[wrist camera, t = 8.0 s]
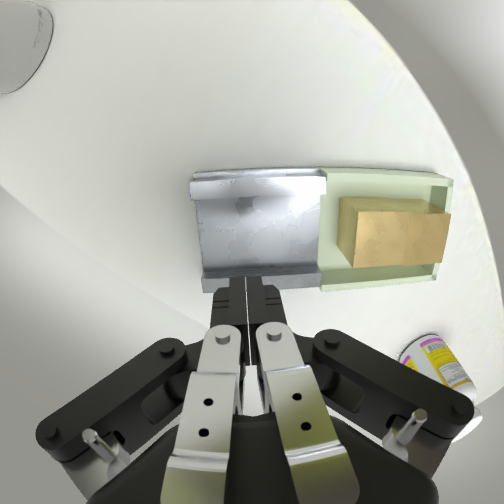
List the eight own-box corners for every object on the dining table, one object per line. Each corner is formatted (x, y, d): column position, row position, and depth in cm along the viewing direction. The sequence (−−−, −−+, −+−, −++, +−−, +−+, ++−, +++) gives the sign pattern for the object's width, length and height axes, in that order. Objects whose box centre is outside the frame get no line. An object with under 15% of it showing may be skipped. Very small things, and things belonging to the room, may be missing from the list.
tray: (313, 274, 24) (321, 292, 21) (317, 167, 20) (327, 173, 18) (420, 265, 24) (435, 280, 22) (434, 172, 20) (453, 179, 18)
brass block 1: (336, 245, 22) (352, 268, 19) (339, 196, 21) (358, 211, 17) (380, 243, 22) (401, 264, 19) (385, 196, 21) (410, 211, 17)
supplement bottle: (407, 377, 31) (443, 452, 20) (388, 358, 29) (429, 445, 17) (446, 346, 29) (491, 417, 18) (432, 323, 27) (488, 403, 16)
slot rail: (207, 280, 24) (203, 296, 22) (195, 172, 20) (188, 178, 18) (313, 274, 24) (320, 290, 22) (317, 167, 20) (326, 172, 18)
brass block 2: (380, 244, 22) (401, 266, 19) (385, 198, 21) (410, 213, 17) (417, 242, 22) (441, 262, 19) (424, 199, 21) (451, 214, 17)
